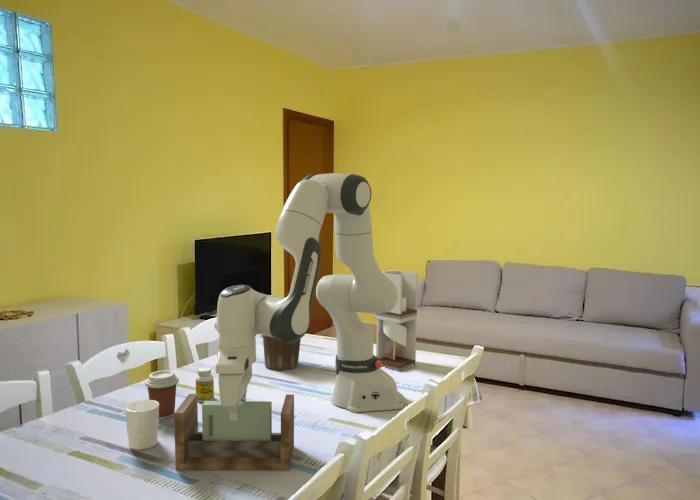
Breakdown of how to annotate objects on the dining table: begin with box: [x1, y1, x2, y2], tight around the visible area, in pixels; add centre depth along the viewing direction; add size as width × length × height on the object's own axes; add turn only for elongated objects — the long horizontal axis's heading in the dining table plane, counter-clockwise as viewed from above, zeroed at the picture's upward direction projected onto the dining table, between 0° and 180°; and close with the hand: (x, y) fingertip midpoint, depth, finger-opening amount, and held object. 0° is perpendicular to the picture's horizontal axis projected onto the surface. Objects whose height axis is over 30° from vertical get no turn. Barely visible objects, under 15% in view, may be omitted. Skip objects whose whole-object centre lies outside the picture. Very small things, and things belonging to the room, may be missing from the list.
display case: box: [374, 269, 419, 372], centre depth 202 cm, size 11×11×35 cm
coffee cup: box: [144, 370, 180, 421], centre depth 154 cm, size 9×9×12 cm
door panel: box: [201, 400, 273, 441], centre depth 129 cm, size 16×3×12 cm, turn 91°
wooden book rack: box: [173, 393, 295, 472], centre depth 129 cm, size 26×12×14 cm, turn 91°
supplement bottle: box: [195, 367, 215, 403], centre depth 166 cm, size 5×5×10 cm
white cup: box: [125, 399, 160, 451], centre depth 136 cm, size 8×8×10 cm
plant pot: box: [262, 335, 302, 371], centre depth 200 cm, size 16×16×16 cm
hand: (238, 410), depth 130 cm, fingers open, 8 cm apart
